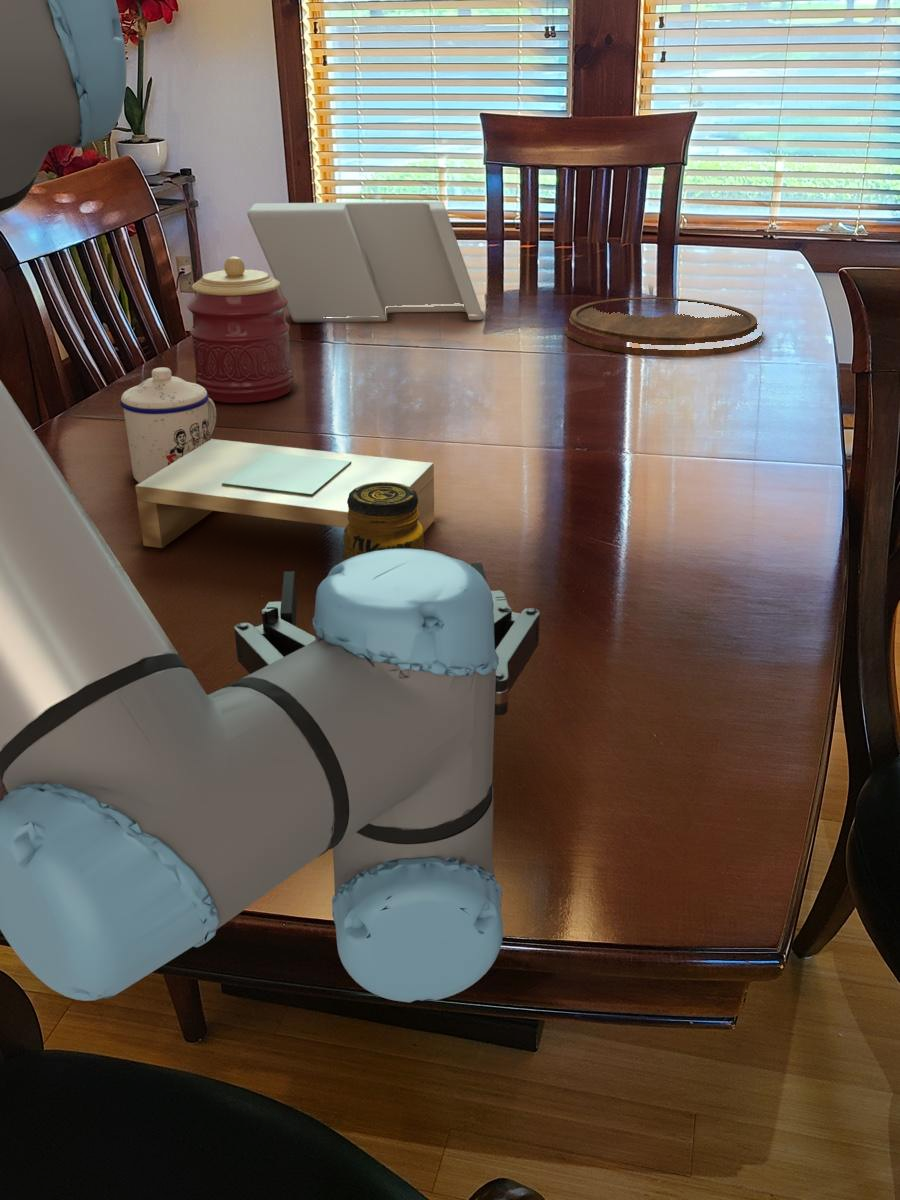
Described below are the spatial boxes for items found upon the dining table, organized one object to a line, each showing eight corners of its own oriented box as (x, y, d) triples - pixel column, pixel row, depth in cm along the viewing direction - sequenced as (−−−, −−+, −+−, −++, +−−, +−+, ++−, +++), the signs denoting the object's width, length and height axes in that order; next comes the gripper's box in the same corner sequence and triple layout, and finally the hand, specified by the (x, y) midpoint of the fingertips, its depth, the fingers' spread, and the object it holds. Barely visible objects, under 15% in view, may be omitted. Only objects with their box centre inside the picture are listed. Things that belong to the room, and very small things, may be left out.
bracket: (319, 382, 187) (245, 212, 174) (322, 367, 196) (252, 204, 183) (484, 320, 183) (421, 141, 170) (480, 307, 192) (420, 136, 179)
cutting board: (537, 344, 169) (537, 328, 167) (594, 305, 195) (594, 290, 194) (744, 364, 157) (747, 347, 156) (775, 319, 184) (777, 304, 183)
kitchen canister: (267, 373, 154) (256, 245, 146) (311, 393, 145) (302, 258, 137) (181, 388, 148) (165, 255, 140) (222, 411, 138) (207, 269, 130)
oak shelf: (143, 545, 101) (134, 483, 98) (217, 493, 112) (211, 436, 110) (382, 580, 94) (380, 514, 91) (434, 520, 106) (434, 460, 103)
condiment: (432, 614, 88) (430, 476, 83) (429, 667, 81) (426, 519, 75) (343, 614, 88) (335, 476, 83) (331, 667, 81) (322, 519, 75)
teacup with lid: (178, 495, 112) (165, 385, 107) (113, 480, 116) (96, 374, 111) (249, 460, 121) (240, 358, 116) (187, 448, 125) (175, 348, 120)
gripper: (181, 819, 61) (216, 637, 79) (616, 791, 63) (550, 620, 82) (165, 706, 57) (205, 544, 76) (625, 681, 59) (554, 529, 78)
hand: (384, 583), depth 79 cm, fingers open, 13 cm apart
